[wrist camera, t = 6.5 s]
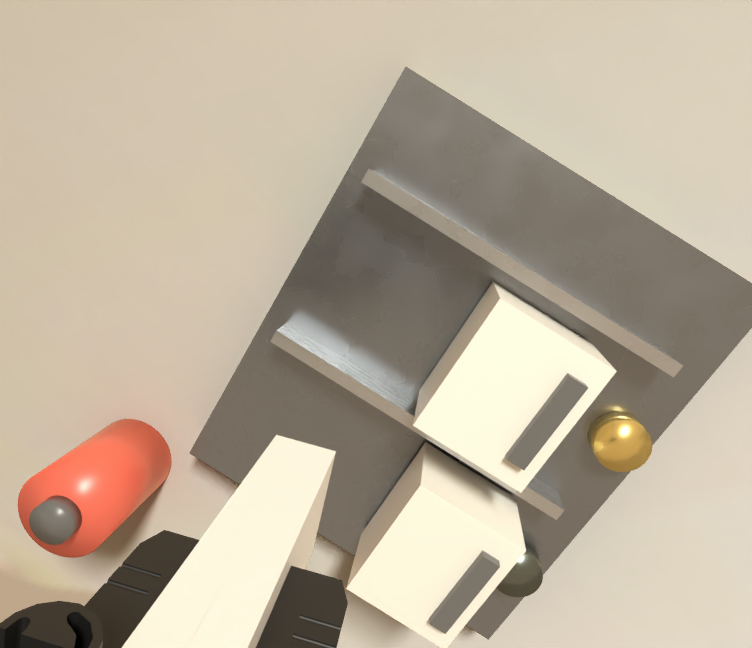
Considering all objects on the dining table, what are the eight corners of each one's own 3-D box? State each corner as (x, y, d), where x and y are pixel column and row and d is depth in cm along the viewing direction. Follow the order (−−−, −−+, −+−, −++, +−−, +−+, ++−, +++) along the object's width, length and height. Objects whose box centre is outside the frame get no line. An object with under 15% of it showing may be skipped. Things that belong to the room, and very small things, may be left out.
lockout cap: (86, 464, 32) (-9, 534, 25) (116, 404, 31) (24, 461, 24) (151, 505, 32) (73, 585, 25) (184, 446, 31) (110, 515, 24)
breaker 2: (361, 533, 28) (344, 595, 24) (425, 442, 26) (419, 490, 22) (446, 586, 28) (444, 657, 24) (515, 498, 26) (527, 557, 22)
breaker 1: (419, 390, 26) (412, 429, 22) (493, 281, 24) (501, 300, 20) (511, 448, 26) (522, 498, 22) (591, 342, 24) (619, 374, 20)
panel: (206, 436, 30) (174, 468, 27) (409, 76, 25) (402, 57, 21) (486, 611, 31) (490, 664, 27) (751, 290, 25) (799, 306, 22)
